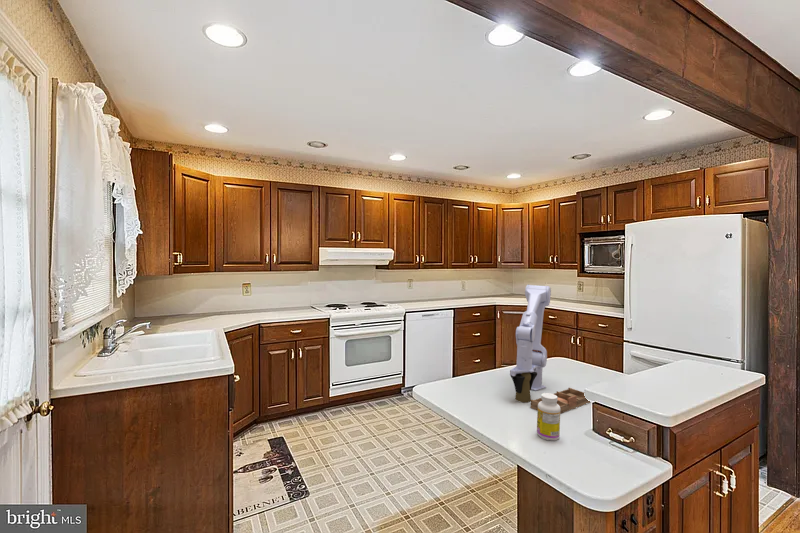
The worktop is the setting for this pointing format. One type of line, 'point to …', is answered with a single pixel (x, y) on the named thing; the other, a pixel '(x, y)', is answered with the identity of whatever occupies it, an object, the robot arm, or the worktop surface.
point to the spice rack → (565, 400)
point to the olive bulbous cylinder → (524, 389)
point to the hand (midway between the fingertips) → (523, 391)
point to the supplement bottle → (548, 417)
